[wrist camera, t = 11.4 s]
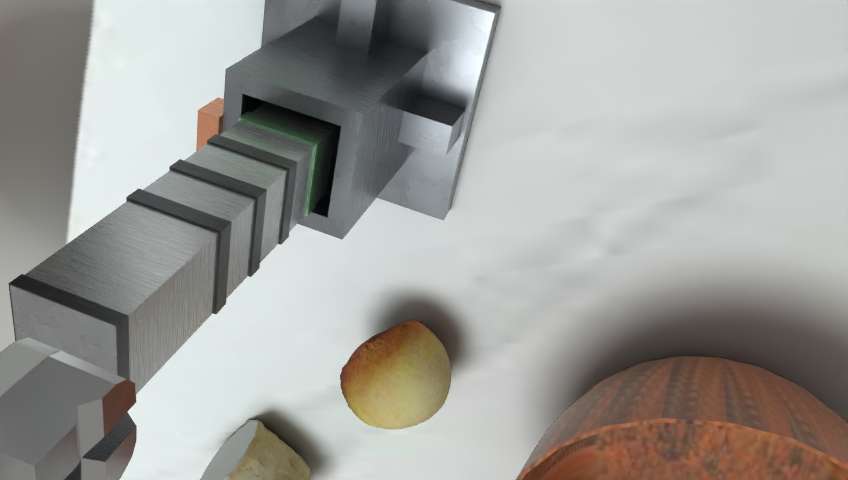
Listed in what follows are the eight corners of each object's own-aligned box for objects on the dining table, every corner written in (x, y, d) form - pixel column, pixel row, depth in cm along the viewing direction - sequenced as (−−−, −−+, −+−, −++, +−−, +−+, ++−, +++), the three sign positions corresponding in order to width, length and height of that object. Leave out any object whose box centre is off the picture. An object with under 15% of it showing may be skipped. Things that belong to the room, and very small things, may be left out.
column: (264, 99, 41) (7, 281, 26) (338, 124, 40) (118, 325, 25) (258, 170, 43) (18, 374, 28) (328, 194, 42) (120, 416, 28)
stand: (281, -58, 48) (163, -14, 38) (500, 7, 46) (438, 72, 35) (262, 146, 55) (160, 229, 45) (449, 210, 53) (386, 312, 43)
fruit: (368, 372, 63) (327, 441, 56) (370, 286, 58) (326, 350, 52) (460, 395, 61) (429, 470, 54) (469, 309, 57) (437, 378, 50)
